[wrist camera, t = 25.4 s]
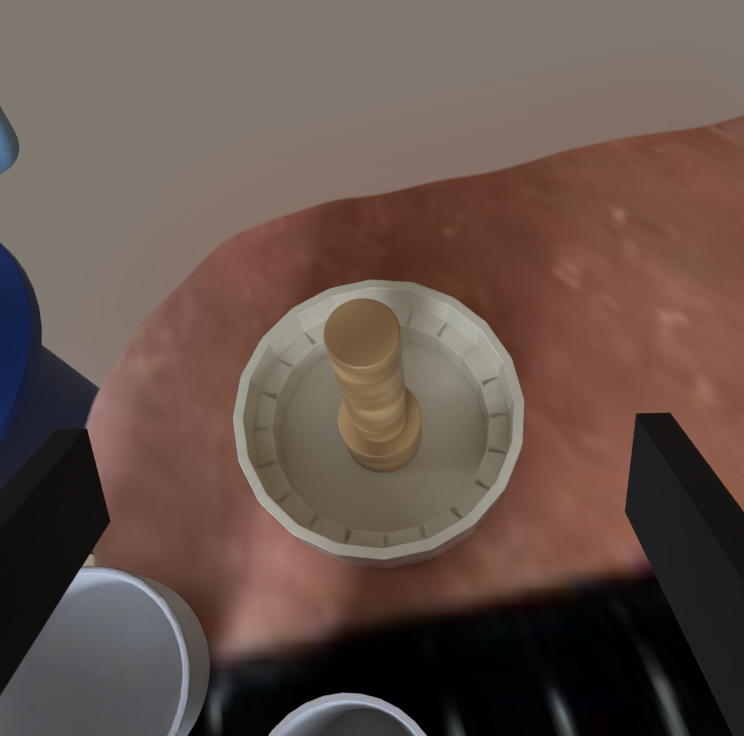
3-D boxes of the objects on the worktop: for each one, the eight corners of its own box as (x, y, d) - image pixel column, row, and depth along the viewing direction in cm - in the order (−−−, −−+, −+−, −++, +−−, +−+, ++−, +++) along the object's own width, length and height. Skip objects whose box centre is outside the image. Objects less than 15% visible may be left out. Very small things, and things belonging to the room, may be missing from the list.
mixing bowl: (213, 501, 44) (182, 482, 38) (324, 289, 48) (312, 244, 43) (452, 614, 40) (457, 611, 35) (547, 374, 45) (564, 337, 39)
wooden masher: (332, 454, 43) (284, 360, 28) (364, 387, 45) (334, 265, 30) (402, 485, 42) (390, 404, 27) (433, 416, 44) (437, 303, 29)
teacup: (173, 541, 43) (120, 522, 35) (265, 699, 39) (227, 715, 32) (-30, 683, 41) (-132, 694, 33) (48, 864, 37) (-47, 922, 30)
